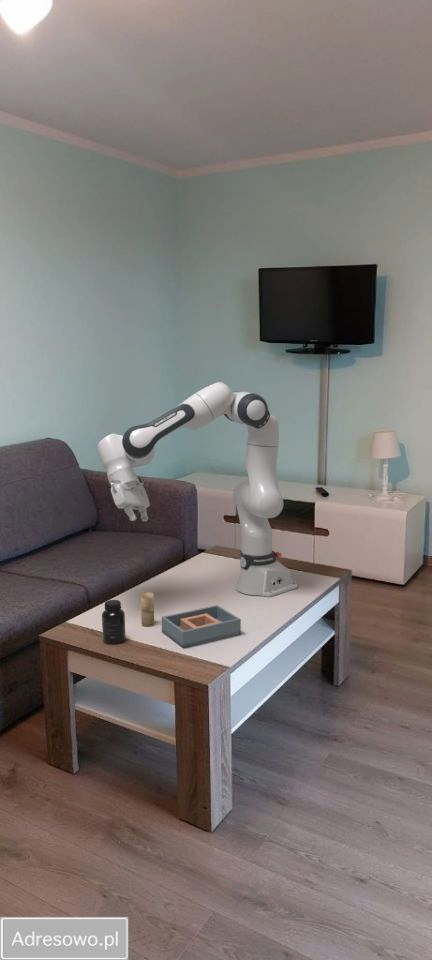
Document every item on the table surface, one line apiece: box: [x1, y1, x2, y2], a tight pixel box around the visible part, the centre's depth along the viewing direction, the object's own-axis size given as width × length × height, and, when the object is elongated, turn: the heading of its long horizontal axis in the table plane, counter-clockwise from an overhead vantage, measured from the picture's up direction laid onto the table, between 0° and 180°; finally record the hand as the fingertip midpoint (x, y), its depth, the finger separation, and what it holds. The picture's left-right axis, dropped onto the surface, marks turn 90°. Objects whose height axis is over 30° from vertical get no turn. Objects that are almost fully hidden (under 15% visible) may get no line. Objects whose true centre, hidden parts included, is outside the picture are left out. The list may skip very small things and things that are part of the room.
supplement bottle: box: [101, 599, 126, 645], centre depth 218 cm, size 7×7×12 cm
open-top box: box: [161, 604, 242, 649], centre depth 223 cm, size 20×14×5 cm
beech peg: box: [140, 591, 155, 628], centre depth 230 cm, size 4×4×10 cm
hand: (139, 520), depth 233 cm, fingers open, 8 cm apart
